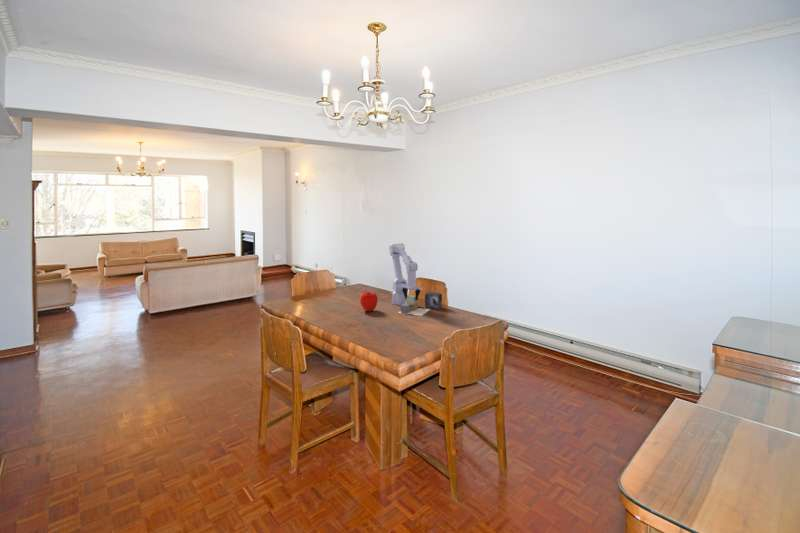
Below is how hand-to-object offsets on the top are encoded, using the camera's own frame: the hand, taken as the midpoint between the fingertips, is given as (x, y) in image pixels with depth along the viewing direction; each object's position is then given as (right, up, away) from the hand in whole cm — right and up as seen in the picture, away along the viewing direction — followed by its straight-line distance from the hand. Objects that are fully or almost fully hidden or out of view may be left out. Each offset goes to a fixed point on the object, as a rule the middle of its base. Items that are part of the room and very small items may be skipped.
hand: (411, 299), depth 273 cm
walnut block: (0, -7, +1) cm, 7 cm away
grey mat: (+2, -8, -3) cm, 9 cm away
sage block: (0, -3, 0) cm, 3 cm away
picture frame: (+16, -7, +6) cm, 18 cm away
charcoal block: (-4, -8, -6) cm, 11 cm away
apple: (-29, -8, -2) cm, 30 cm away
